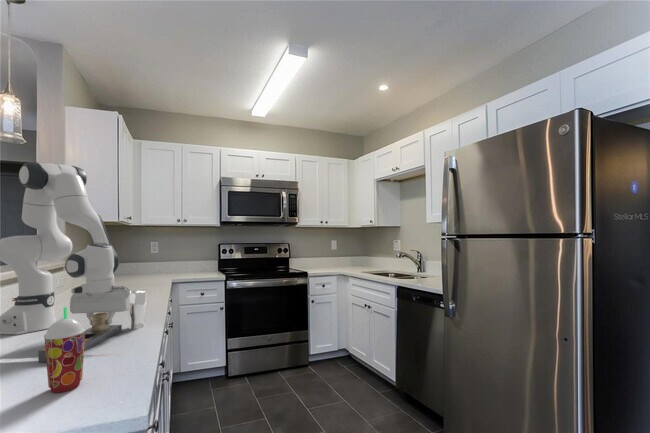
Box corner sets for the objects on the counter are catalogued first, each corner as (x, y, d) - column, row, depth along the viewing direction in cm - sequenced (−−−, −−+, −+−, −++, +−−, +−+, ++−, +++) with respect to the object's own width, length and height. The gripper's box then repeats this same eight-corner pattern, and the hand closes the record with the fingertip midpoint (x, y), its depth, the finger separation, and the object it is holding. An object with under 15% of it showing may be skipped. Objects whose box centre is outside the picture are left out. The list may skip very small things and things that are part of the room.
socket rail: (72, 361, 104) (72, 348, 104) (38, 362, 104) (38, 350, 104) (121, 333, 131) (121, 323, 131) (94, 335, 131) (94, 325, 131)
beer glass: (138, 332, 132) (137, 293, 133) (122, 331, 134) (122, 293, 134) (150, 327, 139) (150, 290, 140) (135, 326, 141) (135, 290, 141)
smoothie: (59, 381, 90) (59, 304, 90) (93, 379, 90) (92, 303, 91) (35, 397, 81) (35, 312, 82) (72, 394, 82) (71, 310, 83)
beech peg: (92, 337, 124) (91, 315, 125) (98, 334, 128) (98, 312, 129) (103, 337, 124) (103, 314, 125) (109, 333, 128) (109, 312, 129)
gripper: (133, 284, 130) (134, 320, 130) (78, 286, 130) (78, 323, 129) (124, 287, 124) (124, 325, 124) (66, 289, 123) (66, 328, 123)
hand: (100, 324), depth 126 cm, fingers closed on beech peg, 4 cm apart
